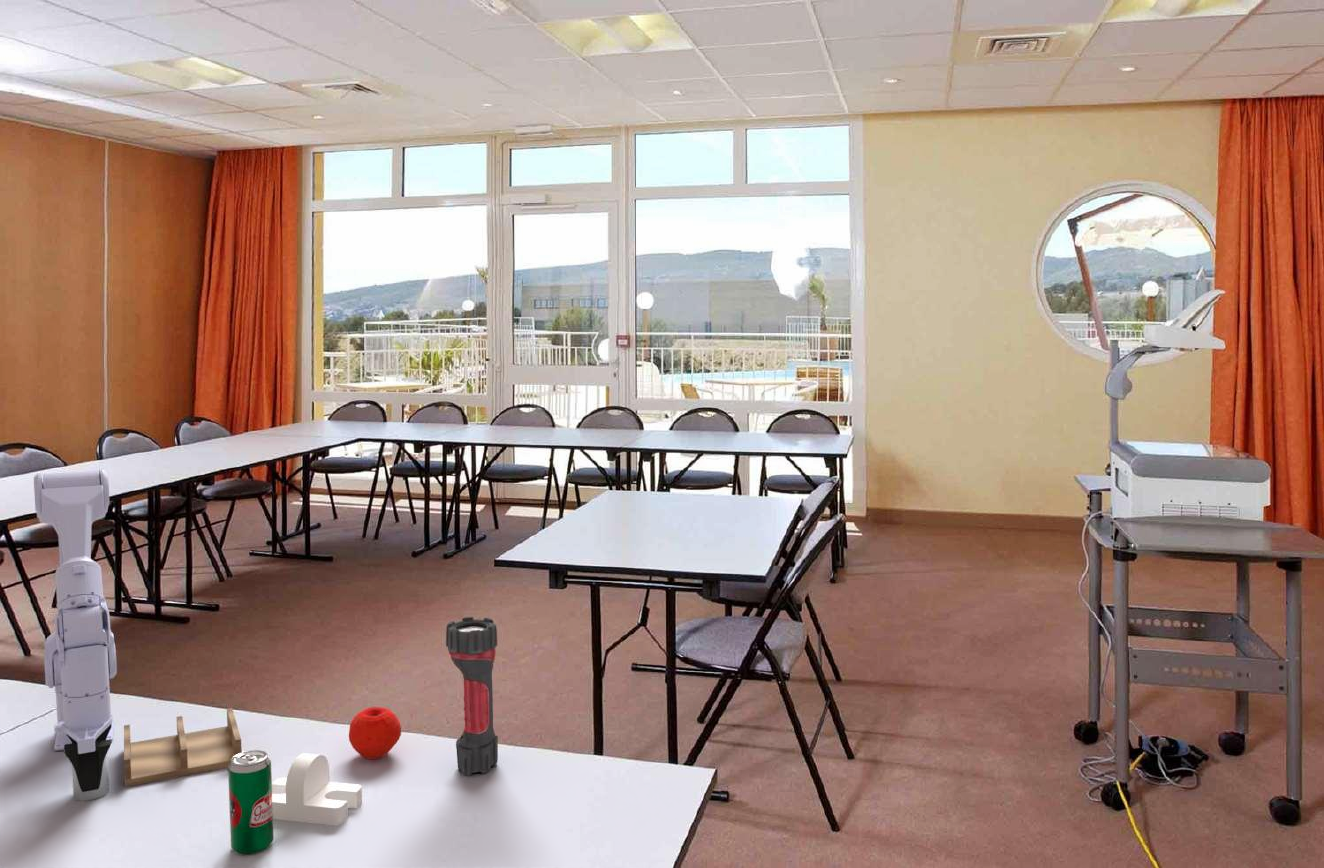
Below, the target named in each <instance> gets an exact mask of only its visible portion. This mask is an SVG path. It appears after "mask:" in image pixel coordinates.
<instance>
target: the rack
mask: <svg viewBox="0 0 1324 868" xmlns="http://www.w3.org/2000/svg"><path fill="white" fill-rule="evenodd" d="M226 720H227V721H226V722H227V725H226V726H221V727H214V728H209V729H204V730H199V731H192V732H191V731H190V732H185V726H184V720H183V715H180V716H176V731H177V732H176V733H177V734H175V735H174V734H173V735H169V736H163V737H157V738H151V739H146V740H145V739H144V740H140V741H133V742H131V727H130V726H131V724H125V725H123V768H124V784H125V787H132V786H137V785H142V784H146V783H152V782H157V781H162V780H169V779H175V778H178V777H184V776H191V775H195V774H199V773H204V772H210V771H214V770H221V769H226V768H228V767H229V765H230V764H231V759H232V757H233V756H235V755H237V754H239V753H241V752H243V751H242V738H241V734H240V730H239V728H238V724H237V721H236V720H237V719H236V716H235V713H234V709H233V707H229V708H226Z"/></svg>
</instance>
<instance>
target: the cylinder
mask: <svg viewBox="0 0 1324 868" xmlns="http://www.w3.org/2000/svg"><path fill="white" fill-rule="evenodd" d="M108 757H109V755H108V753H107V754H106V756H105V759H104V763H103V768H102V776H101V782H100V786H99V789H97V790H92V791H87V792H82V791H81V788H80V786H79V783H78V779H77V775H76V772H75V769H74V767H73V765H72V764H71V770H72V771H71V773H72V789H73V790H72V792H73V799H74V800H75V801H81V802H87V801H92V800H93V801H94V800H95V799H96V800H97V799H99V798H102V797H104V796H106V795H107V794H108V793H109V792H110V778H109V758H108Z"/></svg>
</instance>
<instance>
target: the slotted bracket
mask: <svg viewBox="0 0 1324 868" xmlns="http://www.w3.org/2000/svg"><path fill="white" fill-rule="evenodd" d="M330 780H331V779H330V763H329V761H328V759H327V757H326V756H325V755H323V754H318V753H317V754H316V753H305V752H304V753H301V754H299V755H297V756H296V758H295V759H293V762H292V763H291V765H290V768H289V769H288V773H287V777H278V778H276V779H275V780H274V781H272V803H273V820H280V821H281V820H282V821H291V822H298V823H299V822H300V823H310V824H319V825H321V824H322V825H331V826H339V825H341V824H343V823H345V821H346V820H347V819H348V818H349V812H348V811H349V809H358V808H359V807H360V806H361V805H363V791H362V790H363V788H362V787H363V786H362V785H361V784H359V783H358V784H357V783H356V784H355V783H349V782H348V783H344V782H336V781H335V782H334V781H330Z"/></svg>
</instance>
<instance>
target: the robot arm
mask: <svg viewBox="0 0 1324 868" xmlns="http://www.w3.org/2000/svg"><path fill="white" fill-rule="evenodd" d="M33 491H34V494H33V495H34V507H35V508H34V509H35V512H36V518H38V521H39V523H40V524H41V523H42V524H46V525H51V526H52V527H53V529H54V530H55V532H56V534H57V537H58V538H57V539H58V551H59V552H58V553H59V566H58V567H57V568H56V571H55V576H54V577H55V588H56V590H55V591H56V608H57V613H55V616H54V629H55V630H54V632H52V633H51V634H50V635H49V636H47V638H46V641H44V644H43V645H44V652H43V656H44V658H43V660H44V677H45V680H44V681H45V686H47V687H48V688H49V689H54V693H55V700H56V705H55V706H56V720H57V722H55V724H54V727H53V729H54V733H56V735H55V741H54V746H53V747H54V748H53V750H54V751H55V752H56V751H63V753H64V755H65V757H66V758H67V759H68V760H69V761H70V764H71V766H72V765H73V767H74V769H75V772H76V775H77V779H78V783H79V786H80V788H81V791H82V792H87V791H92V790H97V789H99V786H100V782H101V776H102V768H103V763H104V759H105V756H106V754H108V753H109V750H110V748H111V744H112V741H114V718H113V714H111V712H112V711H111V696H110V694H111V693H110V691H111V689H110V679H114V678H115V676H116V675H117V671H118V669H117V668H118V667H117V665H118V663H117V650H116V644H115V636H114V633H113V632H112V630H111V617H110V611H109V608H108V605H107V600H106V597H105V596H104V587H103V575H102V574H103V573H102V567H101V565H100V564H99V563H98V562H96V561H95V560H94V559H92V558H91V557H92V556H91V555H92V552H91V551H92V525H93V523H94V522H96V521H98V520H101V519H102V518H103V519H104V518H106V514H107V513H108V509H109V506H110V485H109V474H108V472H107V471H105V470H104V469H103V468H102V469H99V470H86V471H83V470H82V471H69V472H53V473H43V474H42V472H38V473H36V475H35V476H34V477H33Z"/></svg>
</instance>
